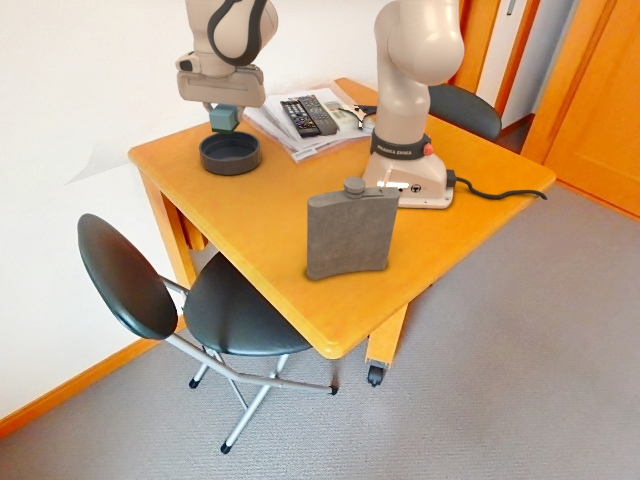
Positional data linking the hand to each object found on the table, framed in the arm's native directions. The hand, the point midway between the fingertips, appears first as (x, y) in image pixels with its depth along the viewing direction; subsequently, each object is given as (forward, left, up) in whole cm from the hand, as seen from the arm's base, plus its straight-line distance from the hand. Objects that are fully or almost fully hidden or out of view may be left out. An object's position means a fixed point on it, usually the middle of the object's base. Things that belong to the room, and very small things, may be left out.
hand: (226, 120), depth 96 cm
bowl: (+1, -1, -12) cm, 12 cm away
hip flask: (-35, +30, -12) cm, 48 cm away
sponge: (0, 0, -2) cm, 2 cm away
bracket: (-29, -34, -12) cm, 47 cm away
